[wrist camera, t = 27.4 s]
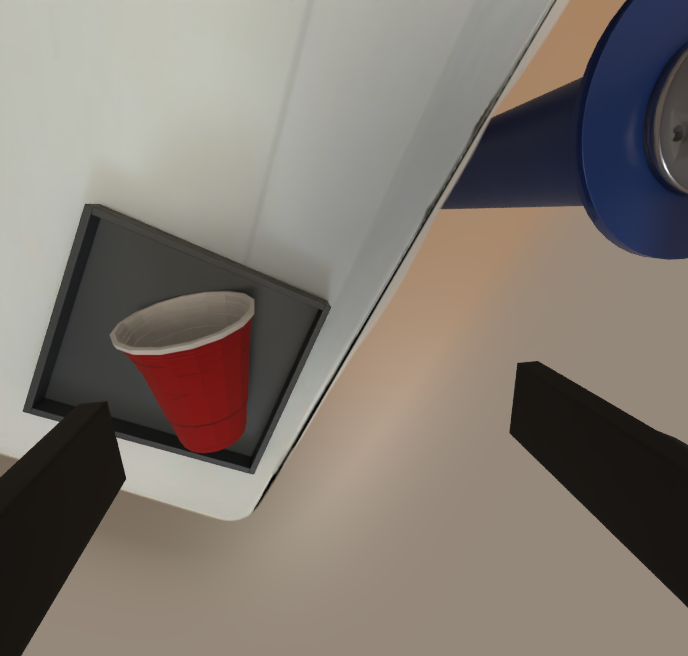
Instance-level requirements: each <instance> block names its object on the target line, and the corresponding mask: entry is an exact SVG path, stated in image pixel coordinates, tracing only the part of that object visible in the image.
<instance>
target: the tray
mask: <svg viewBox="0 0 688 656" xmlns="http://www.w3.org/2000/svg"><path fill="white" fill-rule="evenodd" d="M205 291H234V292H240V293H245V294H247V295H248V296H250V297H251V298H253V299H254V315H253V316H252V319H251V332H250V345H249V375H248V401H247V424H246V426H245V431H244V433H243V434H242V436H241V438H240V439H238V440H237V441H236V442H235V443H233V444H232V445H231V446H229V447H226V448H224V449H222V450H219V451H216V452H210V453H197V452H192V451H190V450H188V449H187V448H185V447H184V445H183V444H182V443H181V442H180V440H179V438H178V436H177V434H176V432H175V430H174V428H173V426H172V424H171V423H170V421H168V420H167V418H166V416H165V414H164V412H163V411H162V409H161V407H160V405H159V403H158V402H157V400H156V398H155V396H154V394H153V392H152V391H151V389H150V387H149V385H148V383H147V382H146V380H145V378H144V376H143V374H142V373H141V372H139V370H138V368H137V367H136V365H135V364H134V362H132V361H131V360H130V358H129V357H128V355H126V354H125V353H124V352H123V351H121V350H119V349H116V347H115V346H114V345H113V344H112V340H111V337H110V333H111V332H112V331H113V329H114V328H115V327H116V326H117V324H118V323H119V322H121V321H122V320H124V319H125V318H127V317H129V316H130V315H132V314H133V313H135V312H136V311H139V310H141V309H144V308H146V307H148V306H151V305H153V304H155V303H158V302H161V301H165V300H168V299H172V298H175V297H179V296H182V295H187V294H193V293H199V292H205ZM330 309H331V306H330V305H329V303H328V301H326V300H324V299H321V298H319V297H316V296H314V295H312V294H309V293H307V292H305V291H302V290H300V289H298V288H295V287H293V286H291V285H288V284H286V283H284V282H281V281H279V280H276V279H274V278H272V277H269V276H267V275H265V274H262V273H260V272H258V271H255V270H253V269H251V268H248V267H246V266H244V265H241V264H239V263H236V262H234V261H232V260H229V259H227V258H225V257H222V256H220V255H218V254H215V253H213V252H211V251H208V250H206V249H203V248H201V247H199V246H196V245H194V244H192V243H189V242H187V241H185V240H182V239H180V238H178V237H175V236H173V235H171V234H168V233H166V232H163V231H161V230H159V229H156V228H154V227H152V226H149V225H147V224H145V223H142V222H140V221H138V220H135V219H133V218H131V217H128V216H126V215H123V214H121V213H119V212H116V211H114V210H112V209H109V208H107V207H105V206H102V205H100V204H85V206H84V209H83V212H82V216H81V219H80V222H79V226H78V229H77V232H76V236H75V239H74V242H73V246H72V249H71V252H70V256H69V259H68V262H67V266H66V269H65V272H64V276H63V279H62V282H61V286H60V289H59V292H58V296H57V299H56V302H55V306H54V309H53V312H52V316H51V319H50V322H49V326H48V329H47V332H46V336H45V339H44V342H43V345H42V349H41V352H40V355H39V359H38V362H37V365H36V369H35V372H34V375H33V379H32V382H31V385H30V389H29V392H28V395H27V399H26V402H25V405H24V409H23V412H26V413H30V414H33V415H36V416H40V417H44V418H47V419H51V420H55V421H58V422H60V421H61V420H62V419H64V418H65V417H66V416H67V415H68V414H69V413H70V412H71V411H72V410H73V409H74V408H75V407H76V406H78V405H79V404H82V403H93V402H104V401H107V402H108V406H109V410H110V414H111V418H112V422H113V426H114V431H115V435H116V437H117V438H121V439H124V440H128V441H132V442H135V443H139V444H143V445H146V446H150V447H154V448H158V449H161V450H165V451H169V452H172V453H176V454H180V455H183V456H187V457H191V458H194V459H198V460H202V461H205V462H209V463H213V464H216V465H220V466H224V467H227V468H231V469H235V470H238V471H242V472H246V473H249V474H254V473H255V471H256V469H257V466H258V464H259V462H260V460H261V458H262V456H263V453H264V451H265V449H266V447H267V445H268V443H269V440H270V438H271V436H272V434H273V432H274V430H275V428H276V425H277V423H278V421H279V419H280V417H281V415H282V412H283V410H284V408H285V406H286V404H287V402H288V399H289V397H290V395H291V393H292V391H293V389H294V386H295V384H296V382H297V380H298V378H299V376H300V373H301V371H302V369H303V367H304V365H305V363H306V360H307V358H308V356H309V354H310V352H311V350H312V347H313V345H314V343H315V341H316V339H317V337H318V335H319V332H320V330H321V328H322V326H323V324H324V322H325V319H326V317H327V315H328V313H329V311H330Z"/></svg>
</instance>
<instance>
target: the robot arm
mask: <svg viewBox="0 0 688 656" xmlns="http://www.w3.org/2000/svg"><path fill="white" fill-rule="evenodd" d="M643 143H644V151H645V156H646V160H647V163H648V165H649V168H650V170H651V172H652V174H653V176H654V177H655V178H656V180H657V181H658V182H659V183H660V184H661V185H662V186H663V187H664V188H665V189H667V190H669V191H670V192H672V193H674V194H677V195H681V196H686V197H688V42H687V43H685V44H684V45H683V46H682V47H681V48H680V49H679V50H678V51H677V52H676V53H675V54H674V56H673V57H672V58H671V59H670V61H669V62H668V63H667V65H666V66H665V68H664V69H663V71H662V72H661V74H660V76H659V78H658V80H657V81H656V84H655V86H654V88H653V90H652V93H651V96H650V98H649V102H648V105H647V109H646V114H645V119H644V128H643ZM510 434H511V435H512V436H513V437H514V438H515V439H516V440H517V441H518V442H519V443H521V445H522V446H523V447H524V448H525V449H526V450H527V451H528V452H529V453H530V454H531V455H532V456H533V457H534V458H536V459H537V460H538V461H539V462H540V463H541V464H542V465H543V466H544V467H545V468H546V469H547V470H548V471H549V472H550V473H551V474H552V475H553V476H554V477H555V478H556V479H557V480H558V481H559V482H560V483H561V484H562V485H563V486H565V488H566V489H567V490H568V491H569V492H570V493H571V494H572V495H573V496H574V497H575V498H576V499H577V500H578V501H579V502H581V503H582V504H583V505H584V506H585V507H586V508H587V509H588V510H589V511H590V512H591V513H592V514H593V515H594V516H595V517H596V518H597V519H598V520H599V521H600V522H601V523H602V524H603V525H604V526H605V527H606V528H607V529H608V530H609V531H610V532H611V533H612V534H613V535H614V536H615V537H616V538H617V539H618V540H619V541H620V542H621V543H623V544H624V546H626V547H627V548H628V549H629V550H630V551H631V552H632V553H633V554H634V555H635V556H636V557H637V558H638V559H639V560H640V561H641V562H642V563H643V564H644V565H645V566H646V567H647V568H648V569H649V570H650V571H651V572H652V573H653V574H654V575H655V576H656V577H657V578H658V579H659V580H660V581H661V582H662V583H663V584H664V585H666V587H668V589H670V590H671V591H672V592H673V593H674V594H675V595H676V596H677V597H678V598H679V599H680V600H681V601H682V602H683V603H684V604H685V605H686V606H687V607H688V445H687V444H685V443H683V442H682V441H680V440H678V439H676V438H674V437H672V436H669V435H667V434H664V433H662V432H659V431H657V430H655V429H653V428H651V427H650V426H648V425H646V424H645V423H643V422H641V421H640V420H638V419H636V418H634V417H633V416H631V415H629V414H627V413H626V412H624V411H622V410H621V409H619V408H617V407H616V406H614V405H612V404H610V403H609V402H607V401H605V400H604V399H602V398H600V397H598V396H597V395H595V394H593V393H592V392H590V391H588V390H587V389H585V388H583V387H581V386H580V385H578V384H576V383H575V382H573V381H571V380H569V379H567V378H566V377H564V376H563V375H561V374H559V373H557V372H556V371H554V370H552V369H551V368H549V367H547V366H545V365H543V364H542V363H540V362H538V361H534V362H523V363H517V371H516V380H515V389H514V398H513V407H512V415H511V424H510ZM125 480H126V476H125V472H124V468H123V464H122V459H121V455H120V451H119V447H118V443H117V439H116V435H115V431H114V426H113V422H112V418H111V414H110V410H109V406H108V402H107V401H104V402H93V403H82V404H79V405H78V406H76V407H75V408H74V409H73V410H72V411H71V412H70V413H69V414H68V415H67V416H66V417H65V418H64V419H62V420H61V421H60V422H59V423H58V424H57V425H56V426H55V427H54V428H53V429H52V430H51V431H50V432H49V433H47V434H46V435H45V436H44V437H43V438H42V439H41V440H40V441H39V442H38V443H37V444H36V445H35V446H34V447H32V448H31V449H30V450H29V451H28V452H27V453H26V454H25V455H24V456H23V457H22V458H21V459H20V460H18V461H17V462H16V463H15V464H14V465H13V466H12V467H11V468H10V469H9V470H8V471H7V472H6V473H5V474H3V475H2V477H0V656H21V655H22V653H23V652H24V650H25V648H26V646H27V645H28V643H29V642H30V640H31V638H32V637H33V635H34V633H35V632H36V630H37V628H38V626H39V625H40V623H41V621H42V620H43V618H44V616H45V615H46V613H47V611H48V610H49V608H50V606H51V604H52V603H53V601H54V599H55V598H56V596H57V594H58V592H59V591H60V589H61V588H62V586H63V584H64V583H65V581H66V579H67V578H68V576H69V574H70V572H71V571H72V569H73V568H74V566H75V564H76V562H77V561H78V559H79V557H80V556H81V554H82V552H83V551H84V549H85V547H86V546H87V544H88V542H89V541H90V539H91V537H92V535H93V534H94V532H95V531H96V529H97V527H98V525H99V524H100V522H101V520H102V519H103V517H104V515H105V514H106V512H107V510H108V509H109V507H110V505H111V504H112V502H113V500H114V499H115V497H116V495H117V494H118V492H119V490H120V488H121V487H122V485H123V483H124V482H125Z"/></svg>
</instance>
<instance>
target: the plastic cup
mask: <svg viewBox="0 0 688 656" xmlns="http://www.w3.org/2000/svg"><path fill="white" fill-rule="evenodd" d="M253 315H254V299H253V298H251V297H250V296H248V295H247V294H245V293H240V292H234V291H205V292H199V293H193V294H187V295H182V296H179V297H175V298H172V299H168V300H165V301H161V302H158V303H155V304H153V305H151V306H148V307H146V308H144V309H141V310H139V311H136V312H135V313H133V314H132V315H130V316H129V317H127V318H125V319H124V320H122V321H121V322H119V323H118V324H117V326H116V327H115V328H114V329H113V331H112V332H111V333H110V337H111V340H112V344H113V345H114V346H115V347H116V349H119V350H121V351H123V352H124V353H125V354H126V355H128V357H129V358H130V360H131V361H132V362H134V364H135V365H136V367H137V368H138V370H139V372H141V373H142V374H143V376H144V378H145V380H146V382H147V383H148V385H149V387H150V389H151V391H152V392H153V394H154V396H155V398H156V400H157V402H158V403H159V405H160V407H161V409H162V411H163V412H164V414H165V416H166V418H167V420H168V421H170V423H171V424H172V426H173V428H174V430H175V432H176V434H177V436H178V438H179V440H180V442H181V443H182V444H183V445H184V447H185V448H187V449H188V450H190V451H192V452H197V453H210V452H216V451H219V450H222V449H224V448H226V447H229V446H231V445H232V444H233V443H235V442H236V441H237V440H238V439H240V438H241V436H242V434H243V433H244V431H245V426H246V424H247V401H248V375H249V345H250V332H251V319H252V316H253Z"/></svg>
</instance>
